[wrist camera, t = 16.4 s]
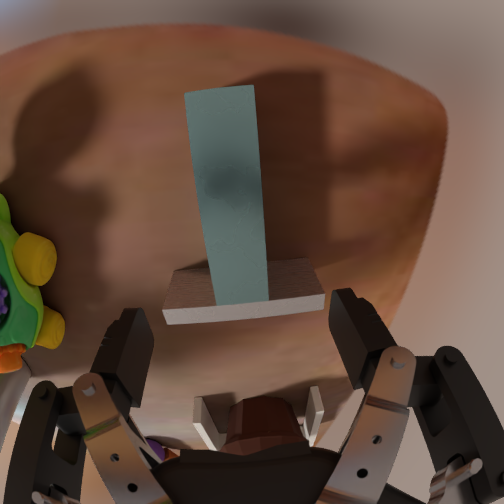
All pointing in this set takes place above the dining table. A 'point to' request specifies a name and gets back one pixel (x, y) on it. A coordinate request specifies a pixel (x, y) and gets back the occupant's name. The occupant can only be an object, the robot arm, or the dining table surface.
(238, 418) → the muffin
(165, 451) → the purple ball-ended brown rod
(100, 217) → the dining table surface
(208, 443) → the bay
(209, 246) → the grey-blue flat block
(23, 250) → the turtle toy
